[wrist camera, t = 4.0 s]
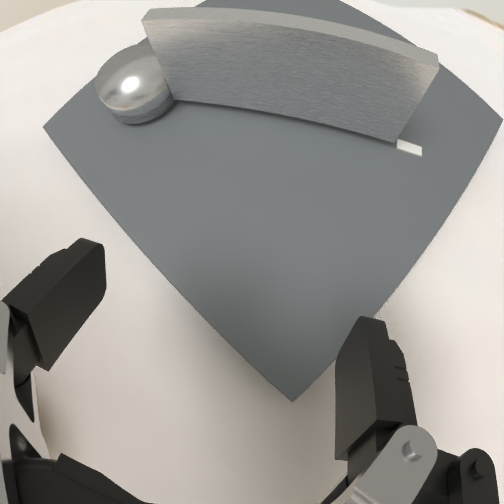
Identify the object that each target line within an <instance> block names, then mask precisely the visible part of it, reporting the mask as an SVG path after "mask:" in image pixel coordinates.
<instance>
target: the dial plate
mask: <svg viewBox="0 0 504 504" xmlns="http://www.w3.org/2000/svg"><path fill="white" fill-rule="evenodd" d="M195 7H209V8H234V9H248V10H259V11H268V12H276V13H284V14H291V15H297V16H304V17H309V18H315V19H320V20H325V21H330V22H334V23H339V24H343V25H347V26H351V27H355V28H359V29H363V30H367V31H370V32H374V33H377V34H381V35H384V36H387V37H390V38H394V39H397V40H400V41H403V42H406V43H408V44H411V45H414V44H413V43H411V42H410V41H408V40H407V39H405V38H404V37H402V36H401V35H399V34H398V33H396V32H395V31H393V30H391V29H390V28H388V27H387V26H385V25H383V24H382V23H380V22H378V21H377V20H375V19H373V18H371V17H370V16H368V15H366V14H364V13H363V12H361V11H359V10H357V9H355V8H353V7H351V6H349V5H348V4H346V3H344V2H342V1H340V0H206V1H204V2H202V3H201V4H199V5H197V6H195ZM141 43H150V41H149V39H148V37H146V38H145V39H144V40H142V41H141V42H139V43H138V44H141ZM414 46H416V45H414ZM439 68H440V69H439V70H438V72H437V74H436V76H435V77H434V79H433V81H432V82H431V84H430V86H429V87H428V89H427V91H426V92H425V94H424V96H423V97H422V99H421V101H420V102H419V104H418V106H417V107H416V109H415V110H414V112H413V114H412V115H411V117H410V118H409V120H408V122H407V123H406V125H405V126H404V128H403V130H402V131H401V133H400V134H399V136H398V138H397V139H396V141H395V142H394V143H392V142H389V141H386V140H383V139H379V138H376V137H373V136H369V135H366V134H362V133H358V132H355V131H351V130H347V129H343V128H339V127H335V126H331V125H327V124H323V123H319V122H314V121H310V120H305V119H301V118H296V117H291V116H286V115H281V114H276V113H271V112H265V111H259V110H253V109H247V108H241V107H234V106H227V105H220V104H212V103H204V102H195V101H185V100H175V101H174V103H173V104H172V105H171V106H170V107H169V108H168V109H167V110H166V111H165V112H163V113H162V114H161V115H159V116H157V117H156V118H154V119H152V120H149V121H146V122H143V123H139V124H125V123H122V122H119V121H117V120H116V119H115V118H114V117H113V116H112V114H111V113H110V112H109V110H108V109H107V108H106V106H105V105H104V103H103V102H102V101H101V99H100V98H99V96H98V95H97V93H96V92H95V87H94V84H95V79H96V77H95V78H93V79H92V80H91V81H90V82H89V83H88V84H87V85H85V86H84V87H83V88H82V89H81V90H80V91H79V92H78V93H77V94H75V95H74V96H73V97H72V98H71V99H70V100H69V101H68V102H67V103H66V104H65V105H64V106H63V107H62V108H61V109H60V110H59V111H58V112H57V113H56V114H55V115H54V116H53V117H52V118H51V119H50V120H49V121H48V122H47V123H46V124H45V125H44V126H43V128H44V130H45V131H46V132H47V134H48V135H49V137H50V138H51V139H52V141H53V142H54V143H55V145H56V146H57V147H58V149H59V150H60V151H61V153H62V154H63V155H64V157H65V158H66V159H67V161H68V162H69V163H70V165H71V166H72V167H73V169H74V170H75V171H76V172H77V174H78V175H79V176H80V178H81V179H82V180H83V181H84V183H85V184H86V185H87V186H88V188H89V189H90V190H91V191H92V193H93V194H94V195H95V196H96V198H97V199H98V200H99V201H100V203H101V204H102V205H103V206H104V207H105V209H106V210H107V211H108V212H109V213H110V215H111V216H112V217H113V218H114V219H115V221H116V222H117V223H118V224H119V225H120V227H121V228H122V229H123V230H124V231H125V232H126V234H127V235H128V236H129V237H130V238H131V239H132V241H133V242H134V243H135V244H136V245H137V246H138V247H139V249H140V250H141V251H142V252H143V253H144V254H145V255H146V256H147V258H148V259H149V260H150V261H151V262H152V263H153V264H154V265H155V266H156V268H157V269H158V270H159V271H160V272H161V273H162V274H163V275H164V276H165V277H166V279H167V280H168V281H169V282H170V283H171V284H172V285H173V286H174V287H175V288H176V289H177V290H178V291H179V292H180V294H181V295H182V296H183V297H184V298H185V299H186V300H187V301H188V302H189V303H190V304H191V305H192V306H193V307H194V308H195V309H196V310H197V311H198V312H199V313H200V314H201V315H202V317H203V318H204V319H205V320H206V321H207V322H208V323H209V324H210V325H211V326H212V327H213V328H214V329H215V330H216V331H217V332H218V333H219V334H220V335H221V336H222V337H223V338H224V339H225V340H226V341H227V342H228V343H229V344H230V345H231V346H232V347H233V348H235V349H236V350H237V351H238V352H239V353H240V354H241V355H242V356H243V357H244V358H245V359H246V360H247V361H248V362H249V363H250V364H251V365H252V366H253V367H254V368H255V369H256V370H258V371H259V372H260V373H261V374H262V375H263V376H264V377H265V378H266V379H267V380H268V381H269V382H270V383H272V384H273V385H274V386H275V387H276V388H277V389H278V390H279V391H280V392H281V393H283V394H284V395H285V396H286V397H287V398H288V399H289V400H290V401H291V402H293V401H294V400H295V399H296V398H298V397H299V396H300V395H301V394H302V393H303V392H304V391H305V390H306V389H307V388H308V387H309V386H310V385H311V384H312V383H313V382H314V381H315V380H316V379H317V378H318V377H319V376H320V375H321V374H322V373H323V372H324V370H325V369H326V368H327V367H328V366H329V365H330V364H331V363H332V362H333V361H334V360H335V359H336V358H337V356H338V353H339V351H340V349H341V347H342V345H343V343H344V342H345V340H346V338H347V336H348V335H349V333H350V331H351V329H352V327H353V326H354V324H355V322H356V320H357V319H358V318H359V317H360V316H365V317H369V318H372V317H373V316H374V315H375V314H376V313H377V311H378V310H379V309H380V308H381V306H382V305H383V304H384V303H385V302H386V300H387V299H388V298H389V297H390V295H391V294H392V293H393V292H394V290H395V289H396V288H397V287H398V285H399V284H400V283H401V281H402V280H403V279H404V278H405V276H406V275H407V274H408V272H409V271H410V270H411V268H412V267H413V266H414V264H415V263H416V262H417V260H418V259H419V257H420V256H421V255H422V253H423V252H424V251H425V249H426V248H427V246H428V245H429V244H430V242H431V241H432V239H433V238H434V236H435V235H436V233H437V232H438V231H439V229H440V228H441V226H442V225H443V223H444V222H445V220H446V219H447V217H448V216H449V214H450V213H451V211H452V209H453V208H454V206H455V205H456V203H457V202H458V200H459V198H460V197H461V195H462V194H463V192H464V190H465V189H466V187H467V185H468V184H469V182H470V180H471V179H472V177H473V175H474V174H475V172H476V170H477V168H478V167H479V165H480V163H481V161H482V160H483V158H484V156H485V154H486V152H487V150H488V149H489V147H490V145H491V143H492V141H493V139H494V137H495V135H496V133H497V131H498V129H499V127H500V125H501V123H502V121H503V119H502V118H501V117H500V116H499V115H498V114H497V113H496V112H495V111H494V110H493V109H492V108H491V107H490V106H489V105H488V104H487V103H486V102H485V101H484V100H483V99H482V98H481V97H479V96H478V95H477V94H476V93H475V92H474V91H473V90H472V89H471V88H469V87H468V86H467V85H466V84H465V83H464V82H462V81H461V80H460V79H459V78H458V77H457V76H455V75H454V74H453V73H452V72H450V71H449V70H448V69H447V68H445V67H444V66H443V65H442V64H440V63H439Z"/></svg>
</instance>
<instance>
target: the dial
mask: <svg viewBox="0 0 504 504" xmlns="http://www.w3.org/2000/svg"><path fill="white" fill-rule="evenodd" d="M141 22H142V24H143V27H144V29H145V32H146V34H147V36H148V39H149V41H150V43H141V44H137V45H133V46H130V47H128V48H125V49H123V50H122V51H120V52H118V53H117V54H115V55H114V56H112V57H111V58H110V59H109V60H108V61H107V62H106V63H105V64H104V65H103V66H102V67H101V69H100V70H99V72H98V74H97V76H96V79H95V84H94V87H95V92H96V93H97V95H98V96H99V98H100V99H101V101H102V102H103V103H104V105H105V106H106V108H107V109H108V110H109V112H110V113H111V114H112V116H113V117H114V118H115V119H116V120H117V121H119V122H122V123H125V124H139V123H143V122H146V121H149V120H152V119H154V118H156V117H157V116H159V115H161V114H162V113H163V112H165V111H166V110H167V109H168V108H169V107H170V106H171V105H172V104H173V103H174V101H175V100H185V101H195V102H204V103H212V104H220V105H227V106H234V107H241V108H247V109H253V110H259V111H265V112H271V113H276V114H281V115H286V116H291V117H296V118H301V119H305V120H310V121H314V122H319V123H323V124H327V125H331V126H335V127H339V128H343V129H347V130H351V131H355V132H358V133H362V134H366V135H369V136H373V137H376V138H379V139H383V140H386V141H389V142H392V143H394V142H395V141H396V139H397V138H398V136H399V134H400V133H401V131H402V130H403V128H404V126H405V125H406V123H407V122H408V120H409V118H410V117H411V115H412V114H413V112H414V110H415V109H416V107H417V106H418V104H419V102H420V101H421V99H422V97H423V96H424V94H425V92H426V91H427V89H428V87H429V86H430V84H431V82H432V81H433V79H434V77H435V76H436V74H437V72H438V70H439V69H440V68H439V62H438V55H437V54H435V53H433V52H430V51H427V50H425V49H422V48H420V47H417V46H414V45H411V44H408V43H406V42H403V41H400V40H397V39H394V38H390V37H387V36H384V35H381V34H377V33H374V32H370V31H367V30H363V29H359V28H355V27H351V26H347V25H343V24H339V23H334V22H330V21H325V20H320V19H315V18H309V17H304V16H297V15H291V14H284V13H276V12H268V11H259V10H248V9H234V8H209V7H181V8H157V9H150V10H149V11H148V12H147V13H146V15H145V16H144V17H143V19H142V20H141Z"/></svg>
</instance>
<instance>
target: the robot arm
mask: <svg viewBox="0 0 504 504" xmlns="http://www.w3.org/2000/svg"><path fill="white" fill-rule="evenodd" d="M105 291H106V269H105V251H104V247H103V245H102V244H100V243H97V242H93V241H90V240H87V239H84V238H80V239H78V240H77V241H76V242H75V243H73V244H72V245H71V246H70V247H69V248H68V249H62V250H60V251H58V252H56V253H54V254H51V255H50V256H49V257H48V258H46V259H45V260H44V261H43V262H42V263H41V264H40V266H37V267H36V268H35V269H34V270H33V271H32V273H31V274H29V275H28V276H26V277H25V278H24V279H23V280H22V281H21V282H20V283H19V284H18V285H17V286H16V287H15V288H14V289H13V290H12V291H11V292H10V293H9V294H8V295H6V296H5V297H4V298H3V299H2V300H1V301H0V504H153V503H146V502H143V501H141V500H139V499H137V498H136V497H134V496H133V495H131V494H130V493H128V492H127V491H125V490H124V489H122V488H121V487H120V486H118V485H117V484H115V483H114V482H113V481H111V480H110V479H108V478H107V477H106V476H104V475H103V474H102V473H100V472H98V471H96V470H94V469H92V468H90V467H88V466H86V465H83V464H81V463H80V462H78V461H76V460H74V459H72V458H70V457H68V456H66V455H64V454H62V453H61V454H60V456H59V458H58V460H53V459H50V456H49V452H48V448H47V445H46V442H45V440H44V438H43V435H42V432H41V428H40V422H39V414H38V405H37V395H36V383H35V374H34V371H33V369H34V367H35V366H36V365H37V366H39V367H41V368H43V369H44V370H46V371H49V370H50V369H51V367H52V366H53V364H54V363H55V362H56V360H57V359H58V357H59V356H60V355H61V353H62V352H63V350H64V349H65V348H66V346H67V345H68V344H69V342H70V341H71V340H72V338H73V337H74V336H75V334H76V333H77V332H78V330H79V329H80V328H81V326H82V325H83V324H84V323H85V321H86V320H87V319H88V317H89V316H90V315H91V313H92V312H93V311H94V310H95V308H96V307H97V306H98V305H99V303H100V302H101V301H102V299H103V297H104V294H105ZM408 380H409V377H408V373H407V371H406V363H405V359H404V355H403V353H402V351H401V350H400V348H399V346H398V345H397V343H396V342H395V341H394V340H389V337H388V333H387V328H386V324H385V322H384V321H382V320H377V319H373V318H369V317H365V316H360V317H359V318H358V319H357V320H356V322H355V324H354V326H353V327H352V329H351V331H350V333H349V335H348V336H347V338H346V340H345V342H344V343H343V345H342V347H341V349H340V351H339V353H338V356H337V359H336V365H335V387H336V427H335V460H345V461H348V472H347V473H346V474H345V475H344V476H343V477H342V478H341V479H340V480H339V481H338V482H337V484H336V485H335V486H334V487H333V488H332V489H331V490H330V491H329V492H328V493H327V494H326V495H325V496H324V497H323V498H322V499H321V500H320V501H319V502H318V503H317V504H499V496H498V488H497V480H496V473H495V467H494V464H493V461H492V459H491V458H490V456H489V455H488V454H487V453H486V452H485V451H483V450H481V449H478V448H472V449H469V450H468V451H466V452H465V453H464V454H462V455H461V456H460V457H458V456H455V455H453V454H450V453H447V452H444V451H442V450H439V449H437V446H436V443H435V441H434V439H433V438H432V436H431V435H430V434H429V433H428V432H427V431H426V430H424V429H423V428H421V427H418V425H417V420H416V414H415V408H414V403H413V397H412V392H411V387H410V382H408Z"/></svg>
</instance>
